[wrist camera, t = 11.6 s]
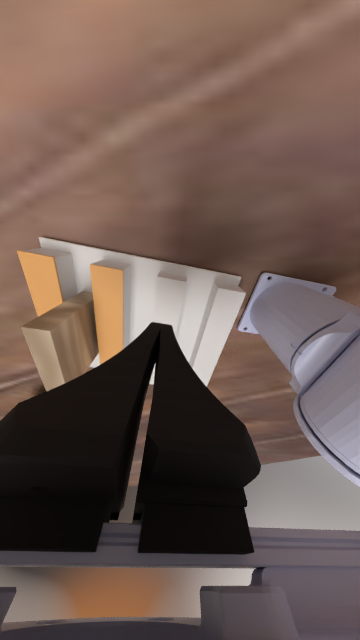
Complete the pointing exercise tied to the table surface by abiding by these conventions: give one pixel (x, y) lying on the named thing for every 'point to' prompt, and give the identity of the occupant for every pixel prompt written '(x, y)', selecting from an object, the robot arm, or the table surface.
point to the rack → (137, 298)
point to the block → (64, 340)
